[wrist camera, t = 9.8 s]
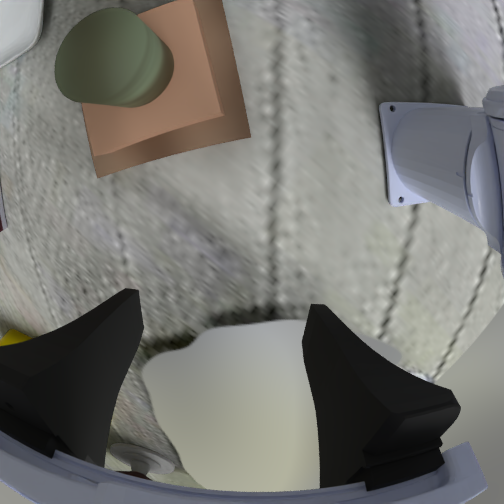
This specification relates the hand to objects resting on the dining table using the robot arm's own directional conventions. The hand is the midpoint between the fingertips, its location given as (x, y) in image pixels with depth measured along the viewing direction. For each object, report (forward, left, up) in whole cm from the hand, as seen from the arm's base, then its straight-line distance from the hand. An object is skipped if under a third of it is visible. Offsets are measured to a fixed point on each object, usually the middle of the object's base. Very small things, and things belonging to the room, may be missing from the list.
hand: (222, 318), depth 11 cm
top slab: (+3, -12, -9) cm, 15 cm away
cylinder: (+3, -12, -6) cm, 14 cm away
